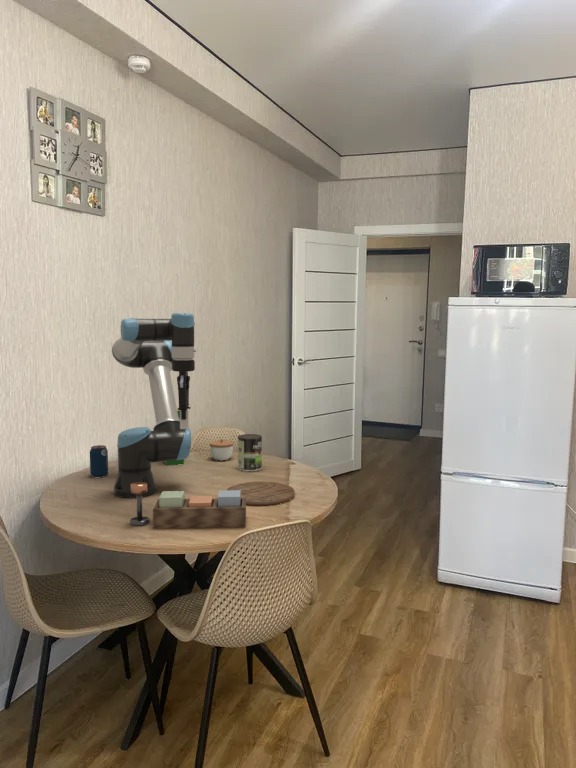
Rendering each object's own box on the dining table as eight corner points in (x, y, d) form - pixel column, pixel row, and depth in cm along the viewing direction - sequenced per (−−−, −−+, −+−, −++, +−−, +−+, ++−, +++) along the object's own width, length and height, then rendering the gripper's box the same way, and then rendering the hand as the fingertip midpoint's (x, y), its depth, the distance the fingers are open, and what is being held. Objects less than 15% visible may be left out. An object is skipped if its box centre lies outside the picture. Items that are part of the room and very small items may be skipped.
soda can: (111, 475, 233) (110, 446, 232) (95, 479, 228) (94, 449, 227) (102, 472, 238) (102, 444, 237) (87, 475, 233) (86, 446, 232)
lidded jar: (232, 462, 256) (232, 441, 255) (208, 462, 256) (208, 441, 255) (234, 456, 267) (234, 436, 266) (211, 456, 267) (211, 436, 266)
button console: (153, 528, 174) (152, 509, 174) (158, 517, 184) (158, 499, 184) (245, 526, 176) (245, 507, 175) (246, 515, 186) (245, 497, 185)
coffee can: (266, 467, 248) (266, 435, 246) (253, 472, 239) (253, 439, 237) (246, 464, 253) (246, 433, 251) (233, 469, 244) (233, 437, 242)
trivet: (309, 496, 208) (309, 491, 208) (256, 512, 191) (256, 506, 191) (264, 482, 226) (264, 477, 226) (211, 495, 209) (211, 490, 209)
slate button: (218, 509, 177) (217, 497, 176) (219, 502, 183) (219, 490, 183) (240, 509, 177) (240, 496, 177) (240, 502, 184) (240, 490, 183)
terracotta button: (188, 515, 176) (188, 503, 176) (191, 508, 183) (191, 496, 183) (211, 515, 177) (211, 502, 176) (212, 508, 183) (212, 496, 183)
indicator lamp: (128, 526, 176) (127, 487, 175) (132, 519, 182) (131, 481, 181) (147, 526, 176) (147, 486, 175) (151, 519, 182) (150, 481, 181)
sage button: (159, 510, 176) (159, 497, 175) (163, 503, 182) (162, 491, 182) (181, 510, 176) (181, 497, 176) (184, 503, 183) (184, 491, 182)
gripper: (192, 360, 186) (193, 432, 189) (196, 358, 199) (197, 425, 202) (169, 360, 186) (170, 432, 188) (174, 357, 198) (175, 425, 201)
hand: (184, 428), depth 195 cm, fingers closed
